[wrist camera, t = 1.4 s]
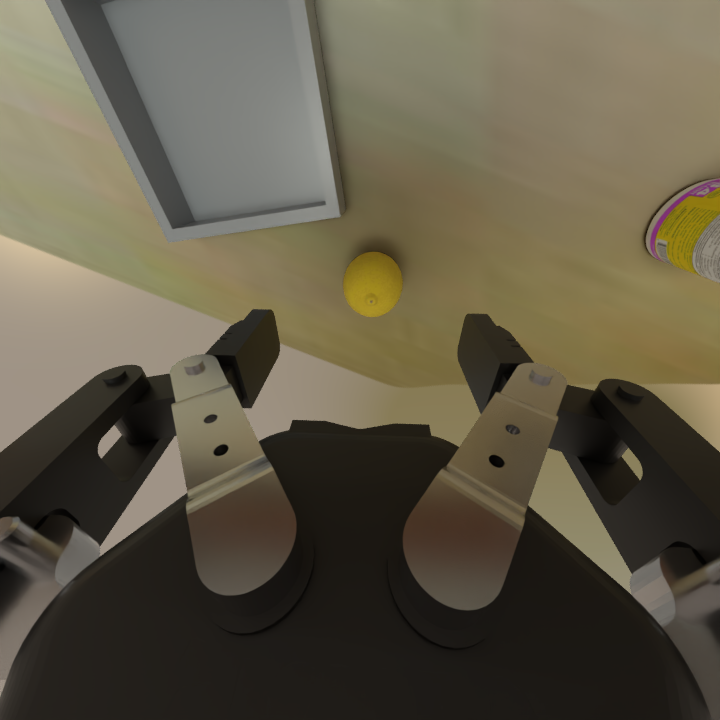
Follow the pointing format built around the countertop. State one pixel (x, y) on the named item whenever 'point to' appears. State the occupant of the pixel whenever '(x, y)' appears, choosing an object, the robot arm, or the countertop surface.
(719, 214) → the supplement bottle
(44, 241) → the countertop surface
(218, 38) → the box
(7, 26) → the countertop surface
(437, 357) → the countertop surface
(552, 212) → the countertop surface
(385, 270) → the lemon
